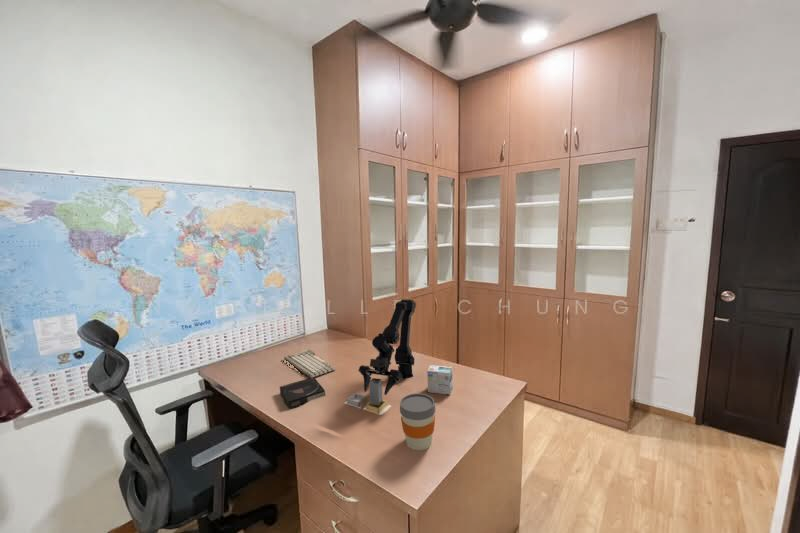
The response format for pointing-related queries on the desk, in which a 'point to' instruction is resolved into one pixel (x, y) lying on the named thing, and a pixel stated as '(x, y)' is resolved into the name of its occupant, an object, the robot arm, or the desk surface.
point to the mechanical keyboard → (309, 364)
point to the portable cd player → (301, 392)
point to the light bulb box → (440, 379)
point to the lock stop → (376, 392)
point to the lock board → (366, 403)
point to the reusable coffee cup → (418, 420)
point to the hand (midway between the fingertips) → (374, 393)
